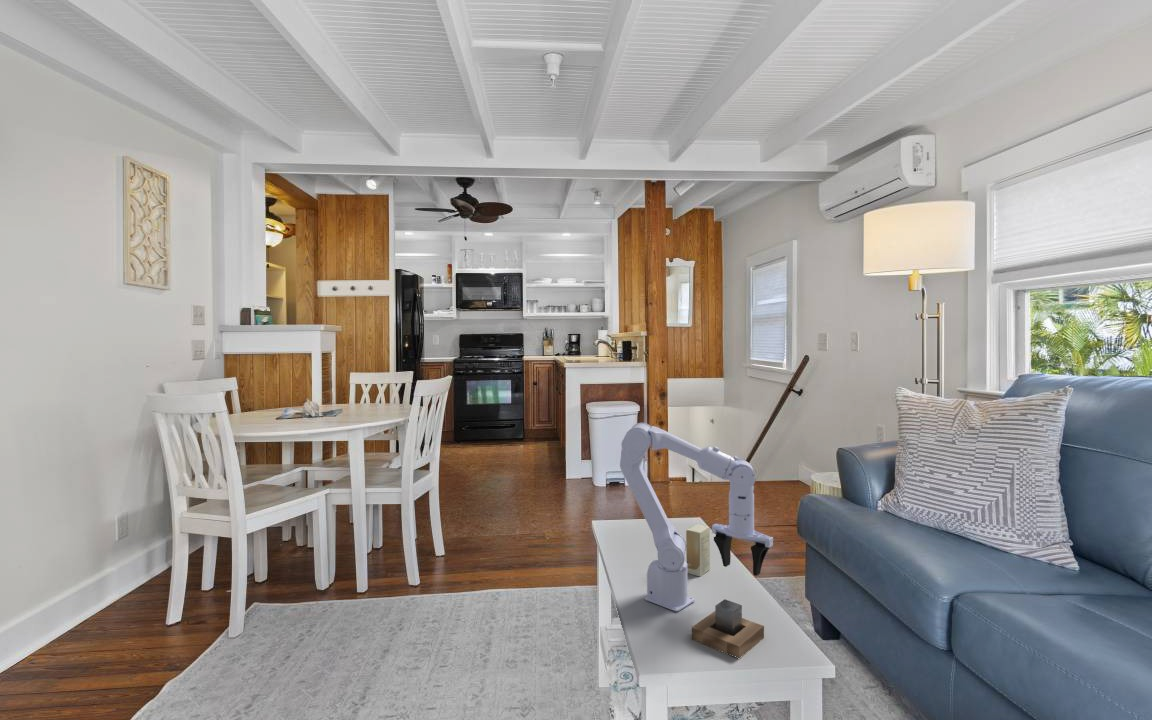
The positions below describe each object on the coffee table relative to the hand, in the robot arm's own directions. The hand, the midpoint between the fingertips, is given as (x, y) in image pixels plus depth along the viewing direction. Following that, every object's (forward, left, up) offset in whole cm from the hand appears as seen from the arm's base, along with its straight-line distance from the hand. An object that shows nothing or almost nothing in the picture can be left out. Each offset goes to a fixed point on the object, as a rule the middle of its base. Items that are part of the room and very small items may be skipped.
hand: (741, 569), depth 129 cm
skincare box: (-19, +12, -10) cm, 24 cm away
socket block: (+4, -14, -9) cm, 17 cm away
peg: (+4, -14, -10) cm, 17 cm away
